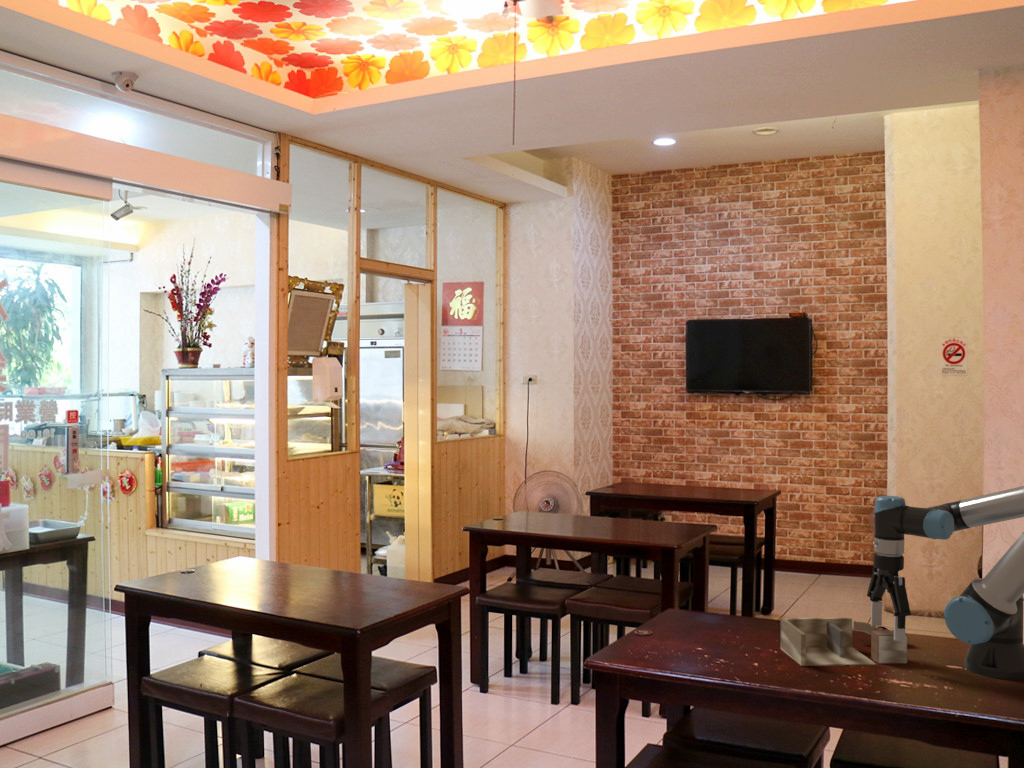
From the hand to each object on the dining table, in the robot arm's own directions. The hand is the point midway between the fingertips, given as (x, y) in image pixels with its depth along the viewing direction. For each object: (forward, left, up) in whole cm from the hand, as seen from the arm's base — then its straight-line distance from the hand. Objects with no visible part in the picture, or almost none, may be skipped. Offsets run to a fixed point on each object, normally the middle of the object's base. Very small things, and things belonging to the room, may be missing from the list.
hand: (887, 632), depth 243 cm
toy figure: (+2, -19, -4) cm, 19 cm away
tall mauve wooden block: (0, 0, -8) cm, 8 cm away
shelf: (+15, -4, -8) cm, 17 cm away
